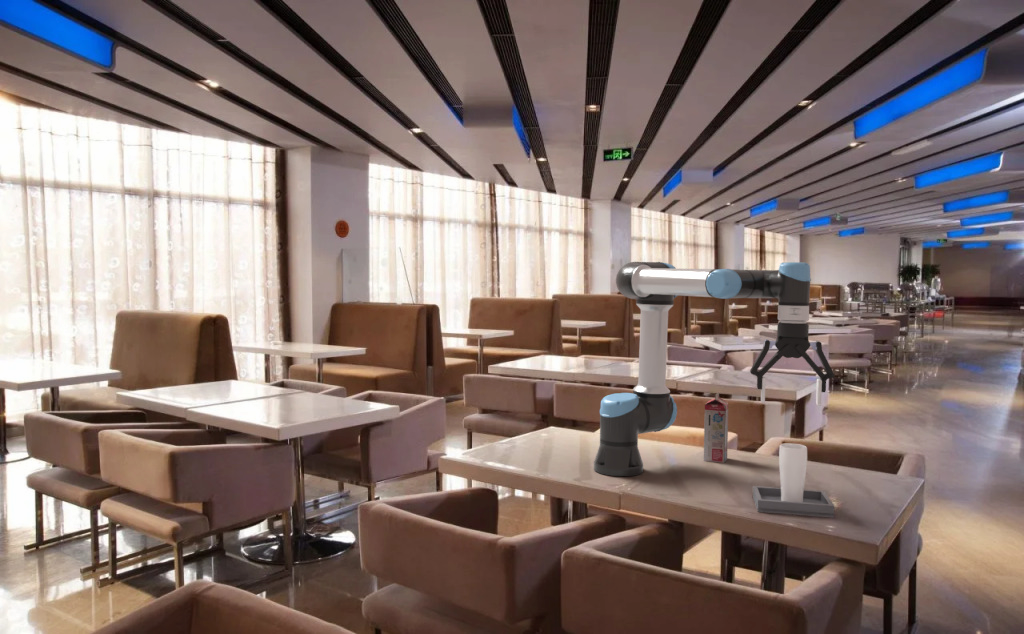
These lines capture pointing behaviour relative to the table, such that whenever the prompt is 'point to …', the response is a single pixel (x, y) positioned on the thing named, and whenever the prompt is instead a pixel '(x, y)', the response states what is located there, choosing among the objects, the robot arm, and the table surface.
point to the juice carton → (716, 430)
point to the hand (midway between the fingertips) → (790, 403)
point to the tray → (811, 505)
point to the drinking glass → (792, 471)
